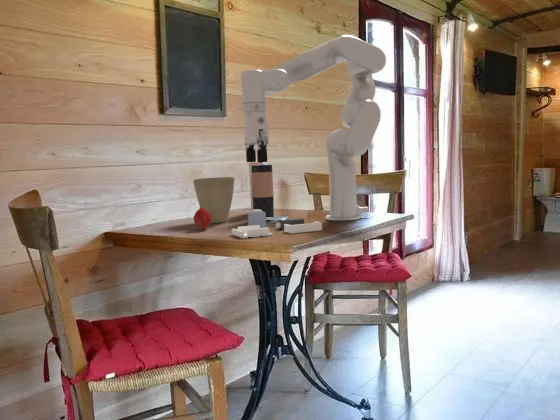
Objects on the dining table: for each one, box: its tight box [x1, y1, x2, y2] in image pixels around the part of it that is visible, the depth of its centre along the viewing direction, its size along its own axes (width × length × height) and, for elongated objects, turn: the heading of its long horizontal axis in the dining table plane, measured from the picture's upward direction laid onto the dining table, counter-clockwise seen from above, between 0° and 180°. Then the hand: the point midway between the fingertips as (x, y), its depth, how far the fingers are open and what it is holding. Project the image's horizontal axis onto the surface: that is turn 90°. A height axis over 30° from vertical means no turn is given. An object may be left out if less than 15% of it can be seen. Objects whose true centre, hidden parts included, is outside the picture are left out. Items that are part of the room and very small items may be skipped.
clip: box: [284, 220, 323, 234], centre depth 180 cm, size 11×4×2 cm, turn 114°
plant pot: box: [192, 176, 235, 224], centre depth 210 cm, size 15×15×16 cm
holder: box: [231, 225, 274, 239], centre depth 174 cm, size 10×8×2 cm
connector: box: [247, 209, 267, 228], centre depth 185 cm, size 4×5×7 cm
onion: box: [193, 206, 212, 231], centre depth 191 cm, size 6×6×8 cm
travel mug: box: [252, 164, 275, 217], centre depth 210 cm, size 8×8×20 cm
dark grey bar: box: [275, 217, 305, 230], centre depth 187 cm, size 9×3×3 cm, turn 116°
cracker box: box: [248, 160, 268, 210], centre depth 231 cm, size 14×6×21 cm, turn 174°
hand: (256, 162), depth 189 cm, fingers open, 9 cm apart
